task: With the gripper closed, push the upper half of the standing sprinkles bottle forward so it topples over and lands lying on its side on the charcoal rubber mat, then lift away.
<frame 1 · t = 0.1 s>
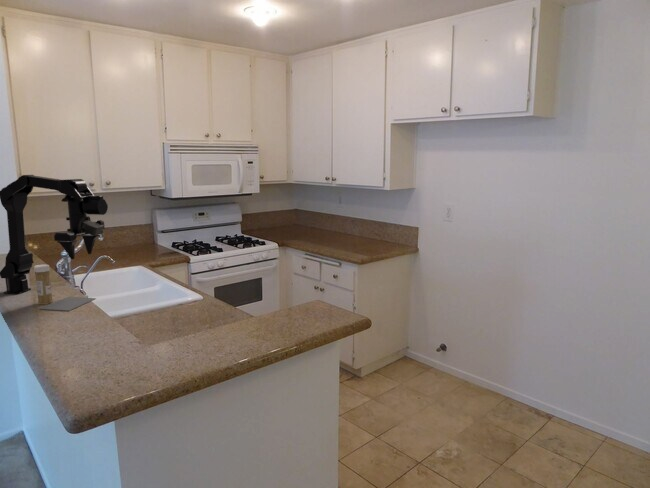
hand: (81, 256, 170), 15 cm above the countertop, fingers open, 9 cm apart
sprinkles bottle: (45, 303, 163), on the countertop
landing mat: (68, 304, 162), on the countertop
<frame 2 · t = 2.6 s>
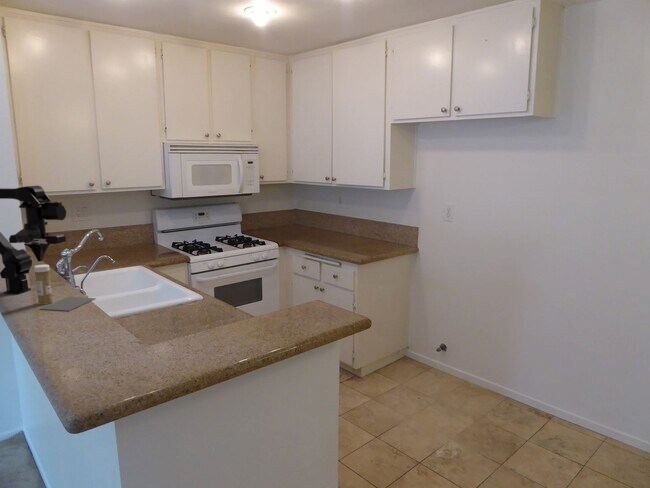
hand: (40, 261, 174), 12 cm above the countertop, fingers closed
nothing on the countertop moved.
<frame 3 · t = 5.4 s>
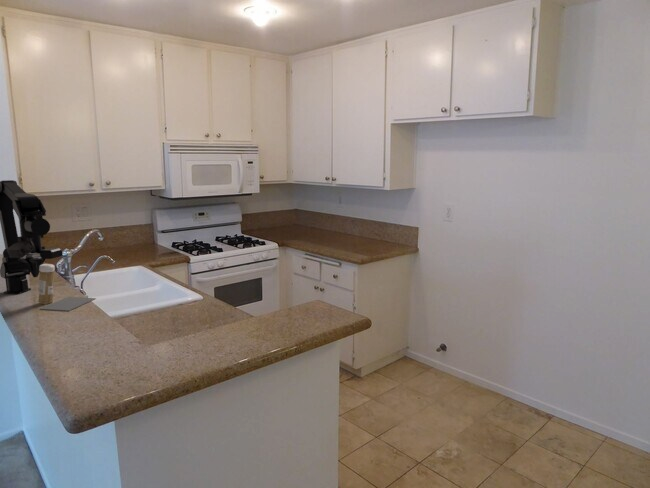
hand: (35, 277, 162), 9 cm above the countertop, fingers closed
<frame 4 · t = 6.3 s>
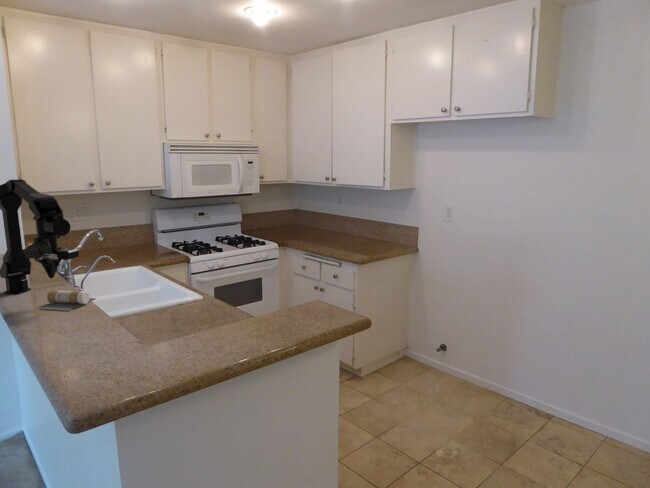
hand: (51, 277, 161), 9 cm above the countertop, fingers closed
sprinkles bottle: (50, 296, 162), point 2 cm above the countertop, touching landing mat
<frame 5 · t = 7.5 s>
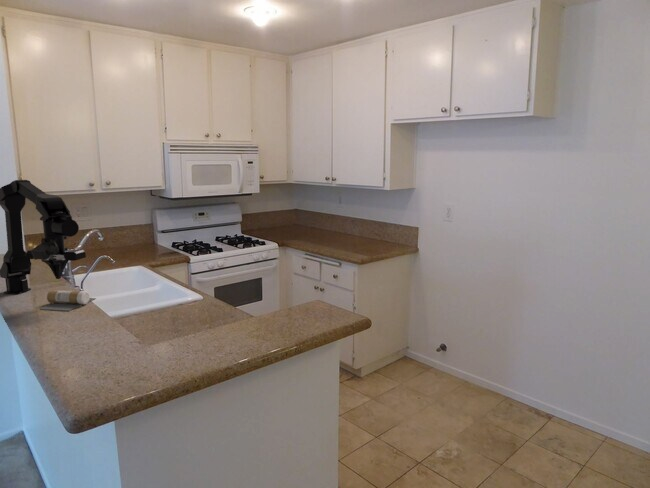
hand: (58, 278, 161), 9 cm above the countertop, fingers closed
nothing on the countertop moved.
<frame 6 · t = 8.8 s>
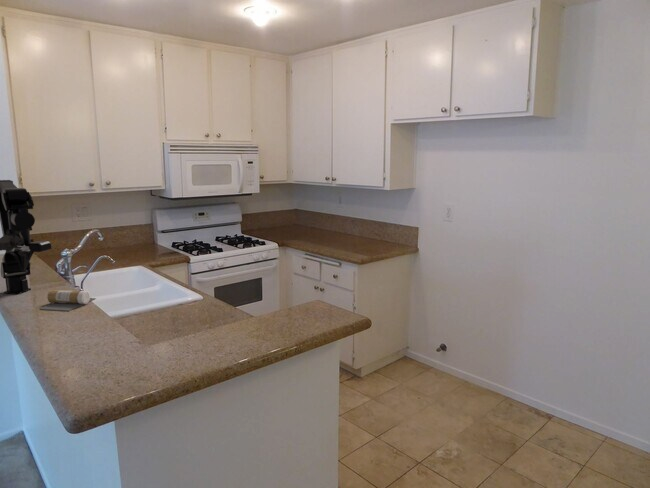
hand: (24, 269, 162), 12 cm above the countertop, fingers closed
nothing on the countertop moved.
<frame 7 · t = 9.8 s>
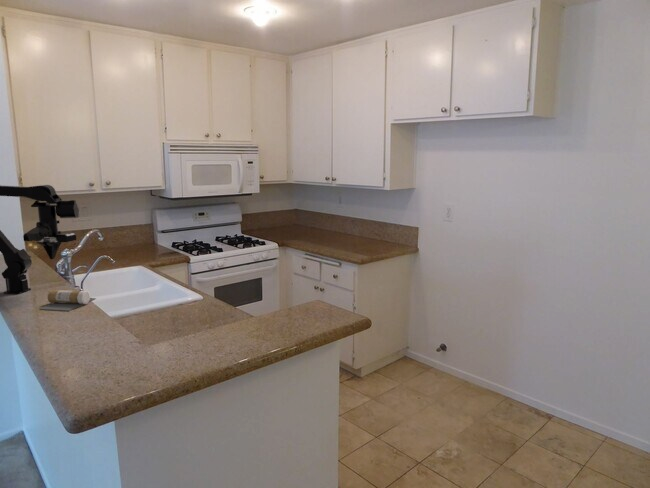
hand: (52, 259, 178), 12 cm above the countertop, fingers closed
nothing on the countertop moved.
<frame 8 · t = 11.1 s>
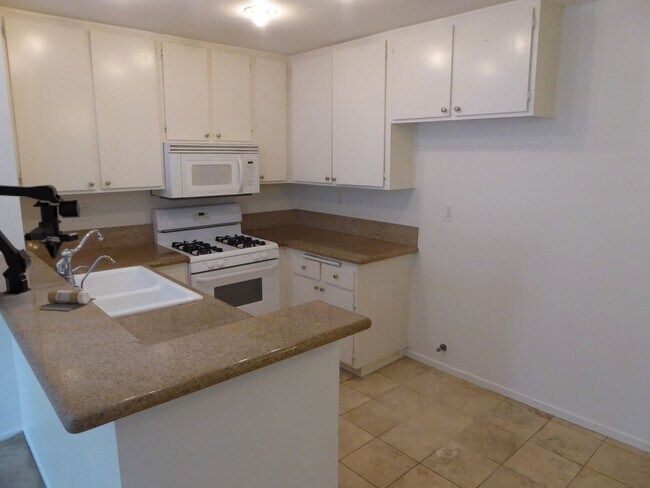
hand: (53, 258, 179), 12 cm above the countertop, fingers closed
nothing on the countertop moved.
at the end: sprinkles bottle tilted 89°; sprinkles bottle touching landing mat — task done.
